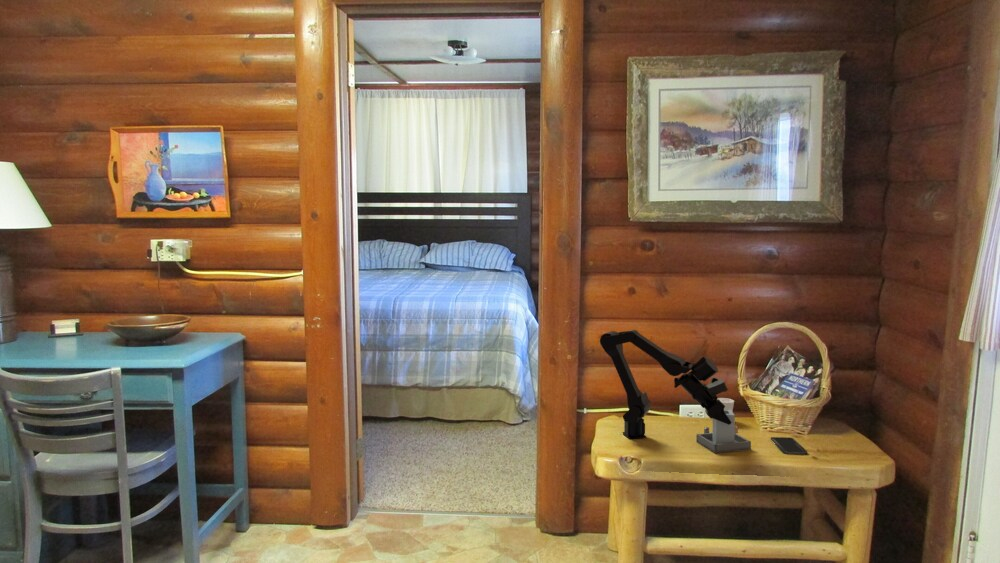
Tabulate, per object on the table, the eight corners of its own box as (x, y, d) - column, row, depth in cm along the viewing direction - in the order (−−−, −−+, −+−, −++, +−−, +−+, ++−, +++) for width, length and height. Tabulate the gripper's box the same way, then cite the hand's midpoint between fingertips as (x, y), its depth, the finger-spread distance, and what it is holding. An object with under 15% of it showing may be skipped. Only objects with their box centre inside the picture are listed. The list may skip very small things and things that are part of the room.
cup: (735, 423, 247) (736, 403, 247) (708, 422, 249) (708, 402, 248) (732, 418, 254) (732, 398, 254) (705, 417, 256) (706, 397, 255)
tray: (714, 453, 216) (714, 445, 216) (696, 442, 228) (696, 434, 227) (750, 449, 219) (750, 441, 219) (730, 438, 231) (731, 430, 230)
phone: (784, 452, 215) (769, 437, 230) (783, 455, 215) (769, 440, 230) (808, 452, 214) (792, 437, 229) (808, 455, 214) (792, 440, 229)
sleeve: (716, 446, 221) (716, 414, 220) (712, 440, 227) (712, 409, 226) (739, 446, 220) (739, 415, 219) (734, 440, 226) (735, 409, 225)
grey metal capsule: (705, 437, 233) (705, 428, 232) (703, 435, 234) (703, 427, 234) (710, 436, 233) (710, 428, 233) (707, 435, 235) (707, 426, 234)
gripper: (718, 378, 212) (752, 412, 212) (707, 366, 231) (738, 397, 231) (693, 401, 214) (727, 435, 214) (684, 387, 232) (715, 418, 232)
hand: (727, 420), depth 223 cm, fingers open, 7 cm apart
